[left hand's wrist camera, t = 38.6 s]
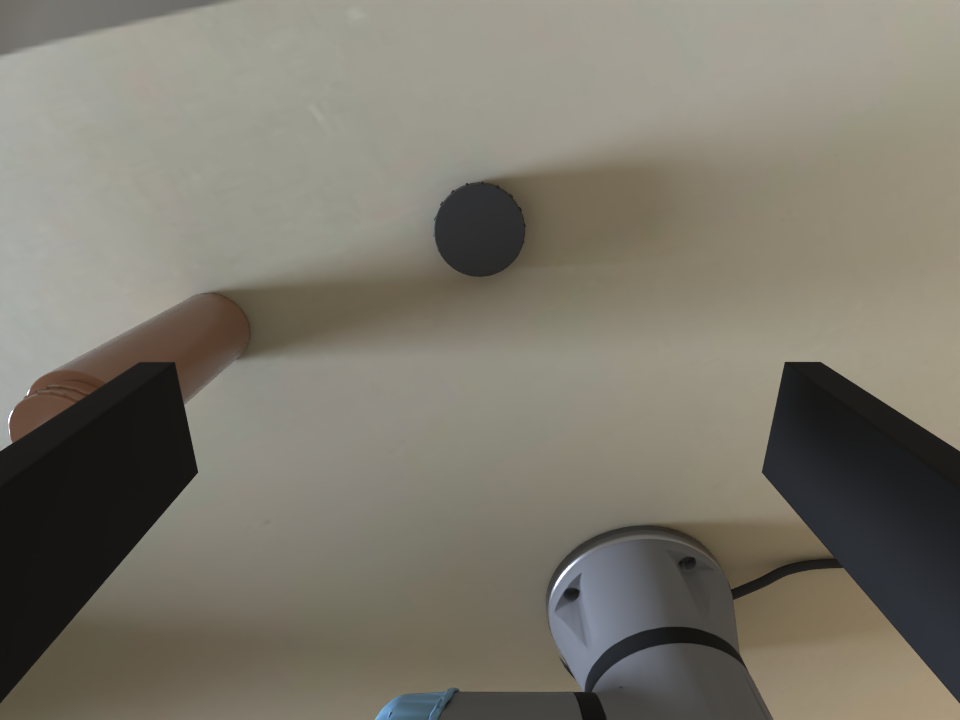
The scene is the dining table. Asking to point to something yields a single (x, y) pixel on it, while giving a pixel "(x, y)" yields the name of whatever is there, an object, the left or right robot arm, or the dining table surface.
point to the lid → (479, 229)
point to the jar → (144, 357)
